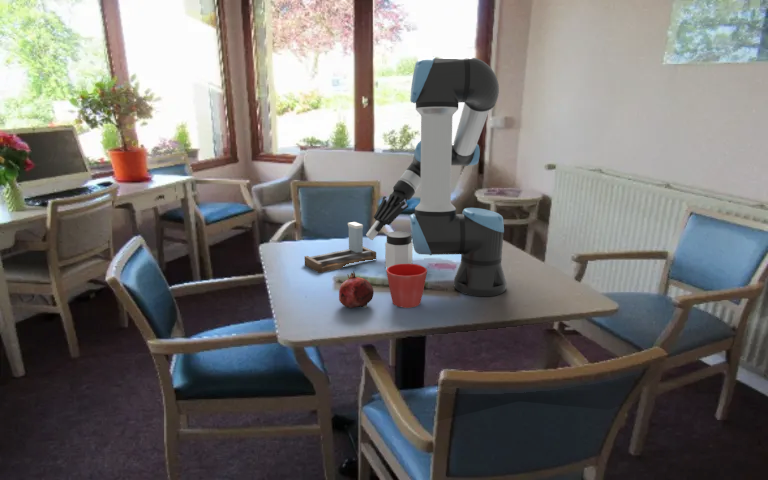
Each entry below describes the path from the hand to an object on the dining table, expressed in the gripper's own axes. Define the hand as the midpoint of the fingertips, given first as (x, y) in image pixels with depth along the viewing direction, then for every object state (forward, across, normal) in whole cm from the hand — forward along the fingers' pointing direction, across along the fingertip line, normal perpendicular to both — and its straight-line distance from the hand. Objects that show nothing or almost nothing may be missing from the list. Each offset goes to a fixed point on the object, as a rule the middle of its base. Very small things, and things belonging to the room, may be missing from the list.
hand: (369, 237), depth 174 cm
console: (+13, 0, +3) cm, 14 cm away
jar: (+5, -17, -5) cm, 18 cm away
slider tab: (+8, 0, 0) cm, 8 cm away
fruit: (+24, -35, +14) cm, 45 cm away
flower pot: (+15, -40, +5) cm, 43 cm away
